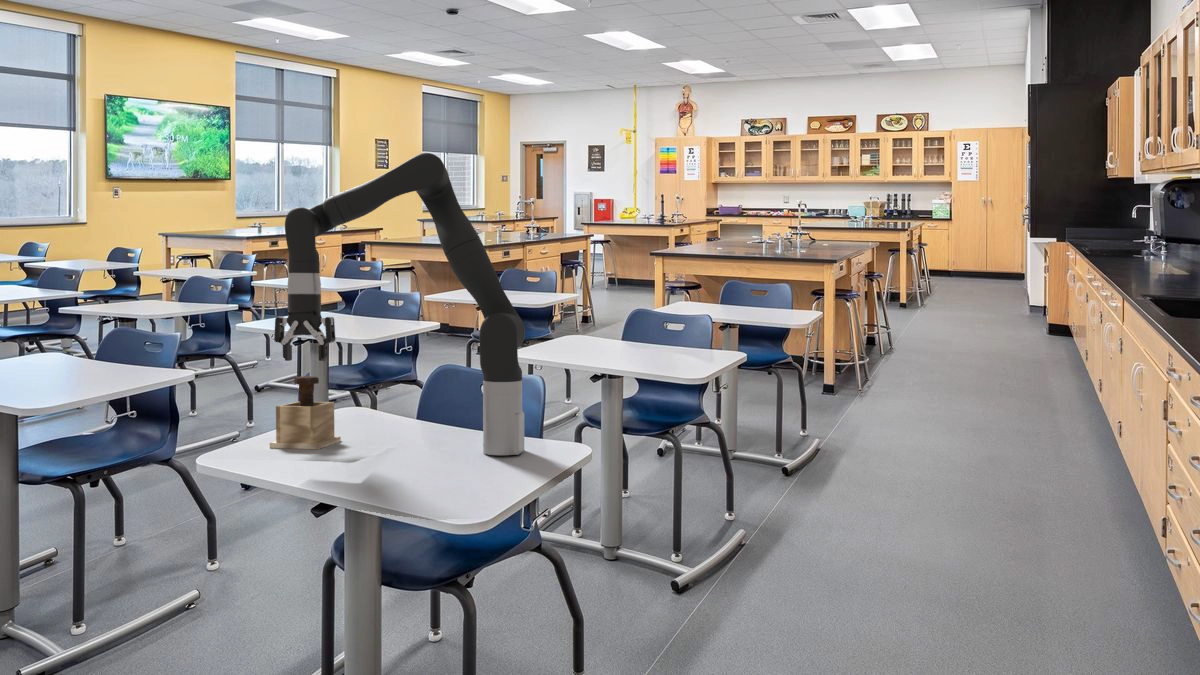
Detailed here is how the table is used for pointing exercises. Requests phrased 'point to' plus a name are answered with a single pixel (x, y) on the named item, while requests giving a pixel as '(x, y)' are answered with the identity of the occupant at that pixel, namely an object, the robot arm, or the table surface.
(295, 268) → the robot arm
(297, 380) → the bolt
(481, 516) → the table surface
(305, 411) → the socket block
